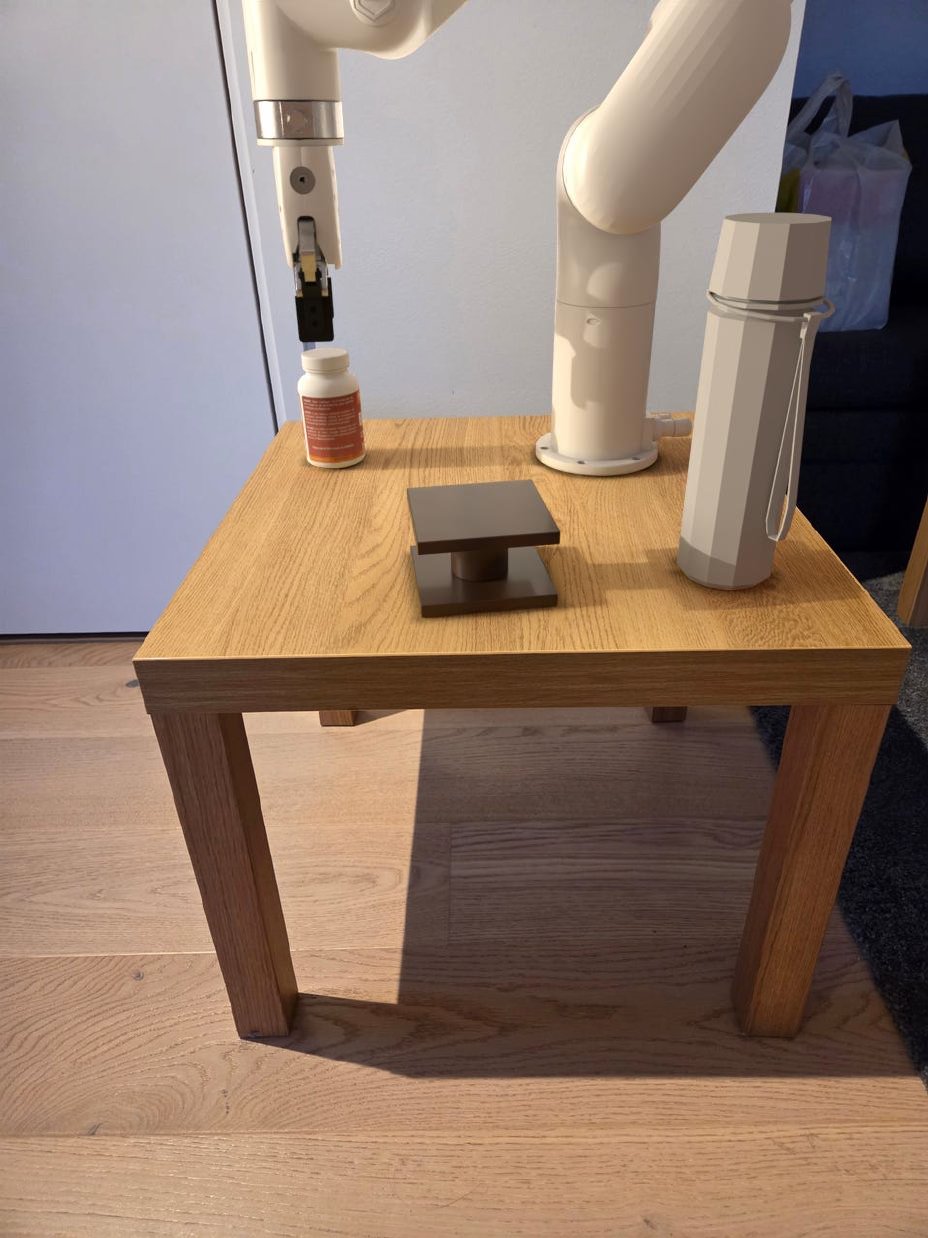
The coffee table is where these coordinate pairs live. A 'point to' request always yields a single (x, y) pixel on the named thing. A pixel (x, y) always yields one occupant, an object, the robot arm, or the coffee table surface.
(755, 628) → the coffee table surface
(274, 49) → the robot arm
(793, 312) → the water bottle
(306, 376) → the pill bottle
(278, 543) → the coffee table surface
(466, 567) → the stand
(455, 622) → the coffee table surface
